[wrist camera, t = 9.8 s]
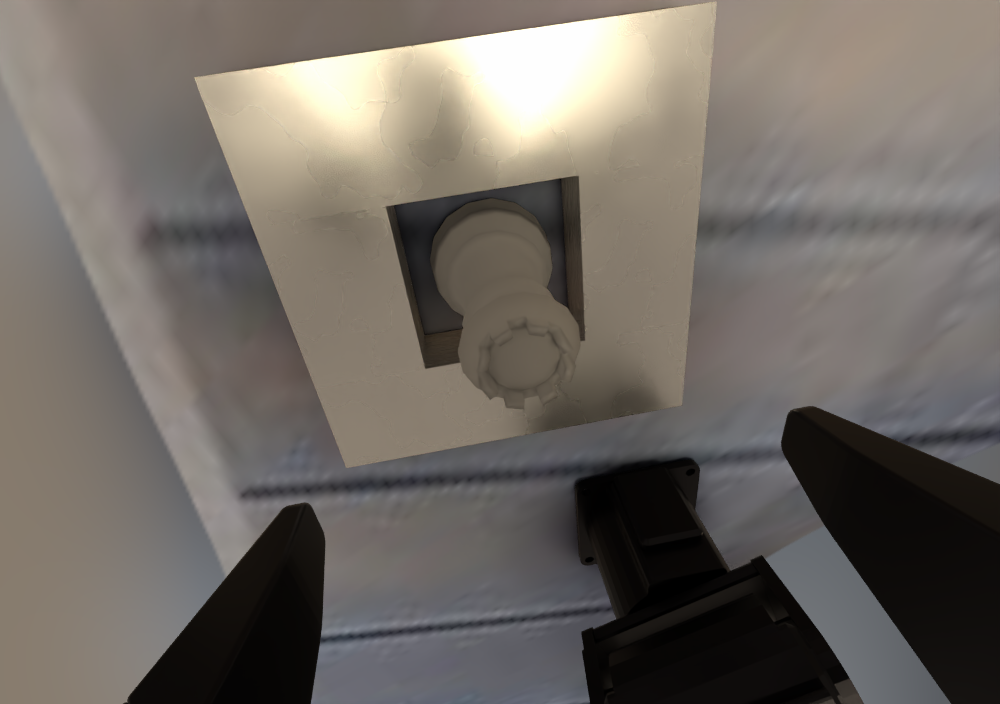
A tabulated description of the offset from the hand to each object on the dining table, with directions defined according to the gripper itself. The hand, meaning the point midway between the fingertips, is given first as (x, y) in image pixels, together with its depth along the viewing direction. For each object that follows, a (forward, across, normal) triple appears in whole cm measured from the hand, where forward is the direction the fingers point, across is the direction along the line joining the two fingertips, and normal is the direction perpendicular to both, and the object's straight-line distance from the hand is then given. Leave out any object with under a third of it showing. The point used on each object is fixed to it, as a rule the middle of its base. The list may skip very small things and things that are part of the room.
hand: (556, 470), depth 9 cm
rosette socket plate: (+12, 0, 0) cm, 12 cm away
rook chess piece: (+12, 0, 0) cm, 12 cm away
